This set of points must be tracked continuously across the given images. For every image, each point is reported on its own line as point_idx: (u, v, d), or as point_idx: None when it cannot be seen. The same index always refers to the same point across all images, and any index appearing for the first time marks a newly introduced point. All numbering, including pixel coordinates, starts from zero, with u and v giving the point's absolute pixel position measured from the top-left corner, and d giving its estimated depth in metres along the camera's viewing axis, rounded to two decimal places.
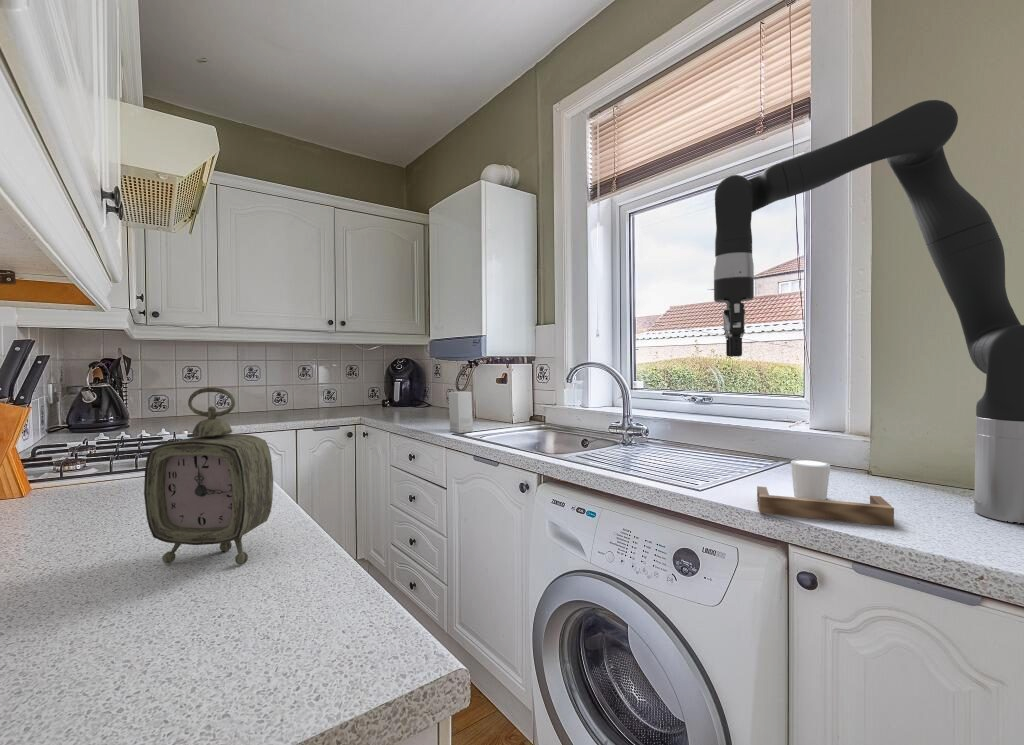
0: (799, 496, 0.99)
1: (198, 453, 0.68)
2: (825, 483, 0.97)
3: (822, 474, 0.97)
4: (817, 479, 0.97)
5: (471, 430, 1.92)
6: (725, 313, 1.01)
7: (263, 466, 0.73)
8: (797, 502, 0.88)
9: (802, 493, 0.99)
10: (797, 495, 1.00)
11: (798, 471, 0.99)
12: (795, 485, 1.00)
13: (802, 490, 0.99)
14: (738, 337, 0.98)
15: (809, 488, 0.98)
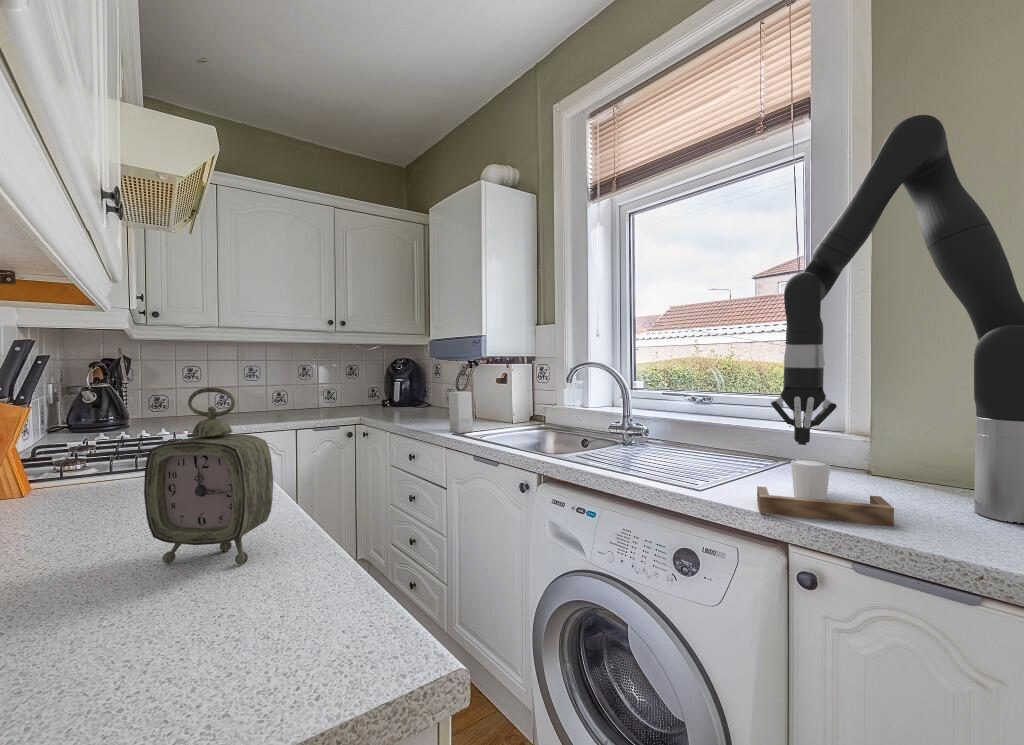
0: (799, 496, 0.99)
1: (198, 453, 0.68)
2: (825, 483, 0.97)
3: (822, 474, 0.97)
4: (817, 479, 0.97)
5: (471, 430, 1.92)
6: (813, 403, 1.07)
7: (263, 466, 0.73)
8: (797, 502, 0.88)
9: (802, 493, 0.99)
10: (797, 495, 1.00)
11: (798, 471, 0.99)
12: (795, 485, 1.00)
13: (802, 490, 0.99)
14: None
15: (809, 488, 0.98)
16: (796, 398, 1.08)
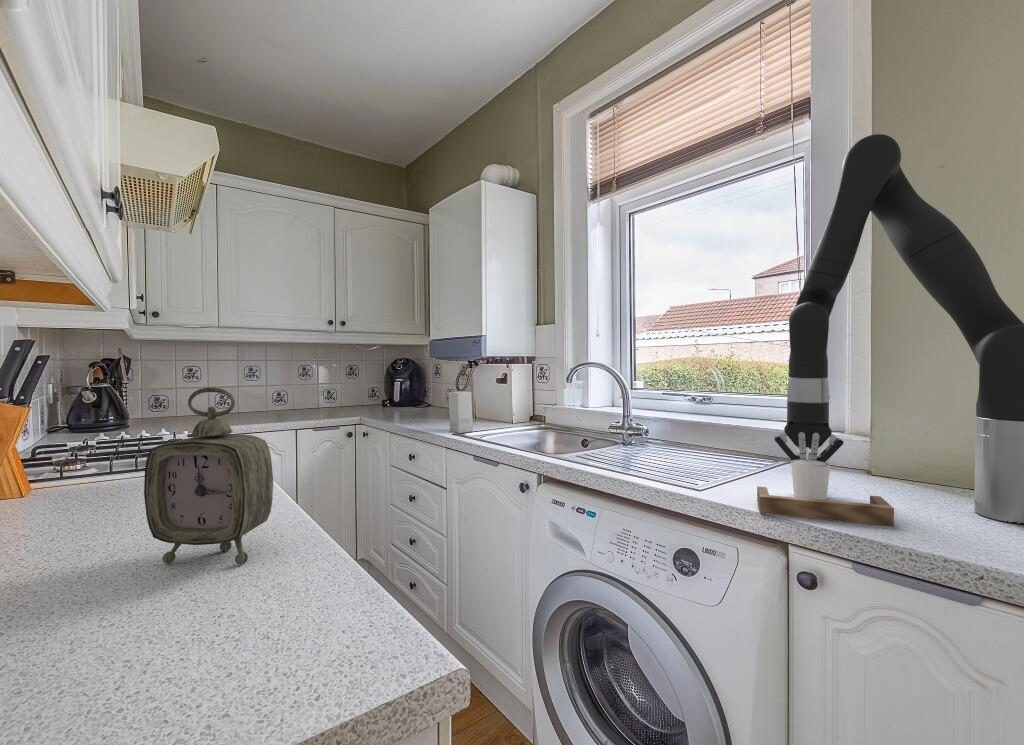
0: (799, 496, 0.99)
1: (198, 453, 0.68)
2: (825, 483, 0.97)
3: (822, 474, 0.97)
4: (817, 479, 0.97)
5: (471, 430, 1.92)
6: (818, 439, 1.02)
7: (263, 466, 0.73)
8: (797, 502, 0.88)
9: (802, 493, 0.99)
10: (797, 495, 1.00)
11: (798, 471, 0.99)
12: (795, 485, 1.00)
13: (802, 490, 0.99)
14: None
15: (809, 488, 0.98)
16: (800, 434, 1.03)
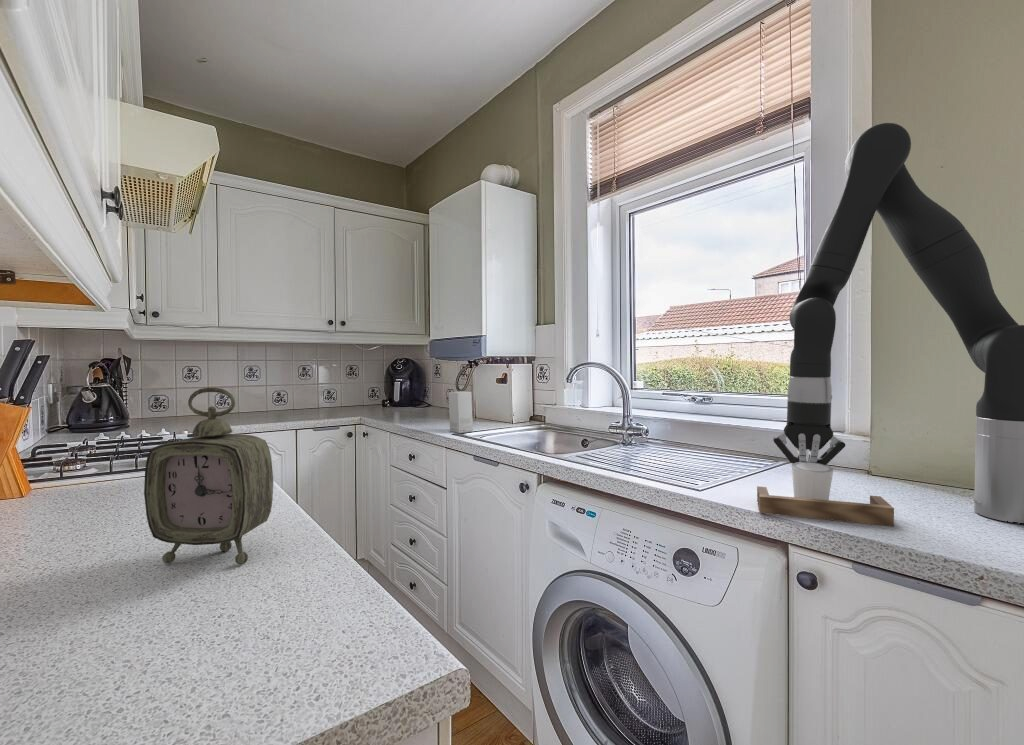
0: None
1: (198, 453, 0.68)
2: (828, 488, 0.94)
3: (826, 480, 0.93)
4: (821, 485, 0.93)
5: (471, 430, 1.92)
6: (819, 441, 0.97)
7: (263, 466, 0.73)
8: (797, 502, 0.88)
9: None
10: None
11: (801, 477, 0.94)
12: (797, 490, 0.96)
13: (805, 496, 0.94)
14: None
15: (812, 495, 0.94)
16: (801, 435, 0.98)
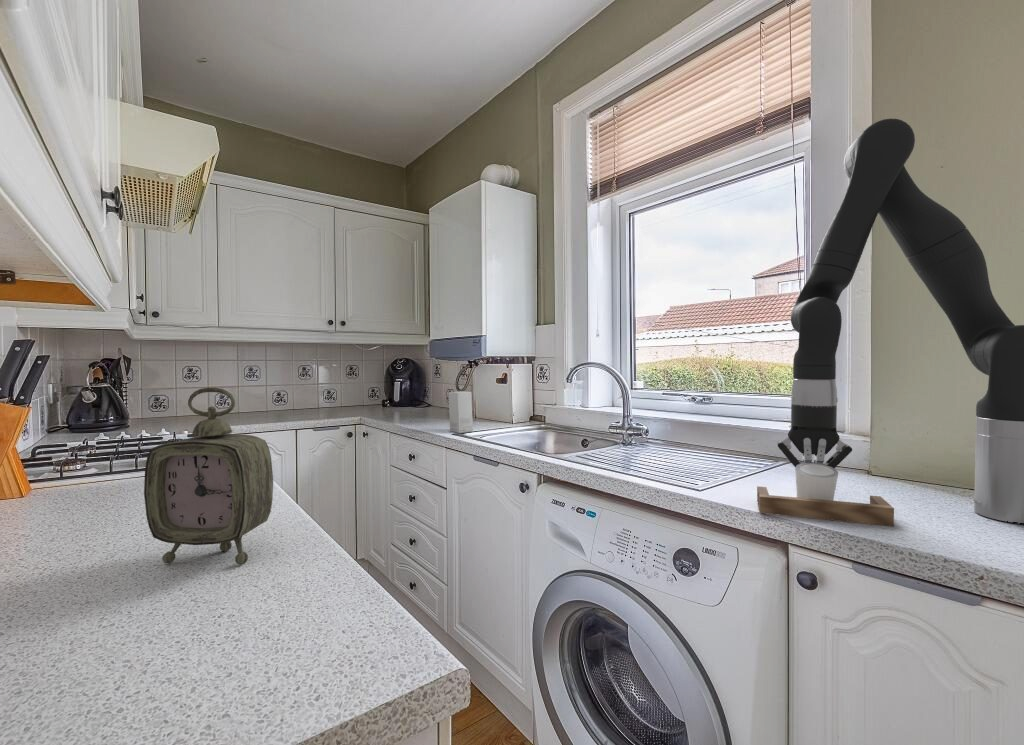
0: None
1: (198, 453, 0.68)
2: (832, 492, 0.91)
3: (830, 484, 0.90)
4: (825, 490, 0.90)
5: (471, 430, 1.92)
6: (825, 445, 0.94)
7: (263, 466, 0.73)
8: (797, 502, 0.88)
9: None
10: None
11: (804, 481, 0.91)
12: (800, 494, 0.93)
13: None
14: None
15: None
16: (806, 440, 0.95)
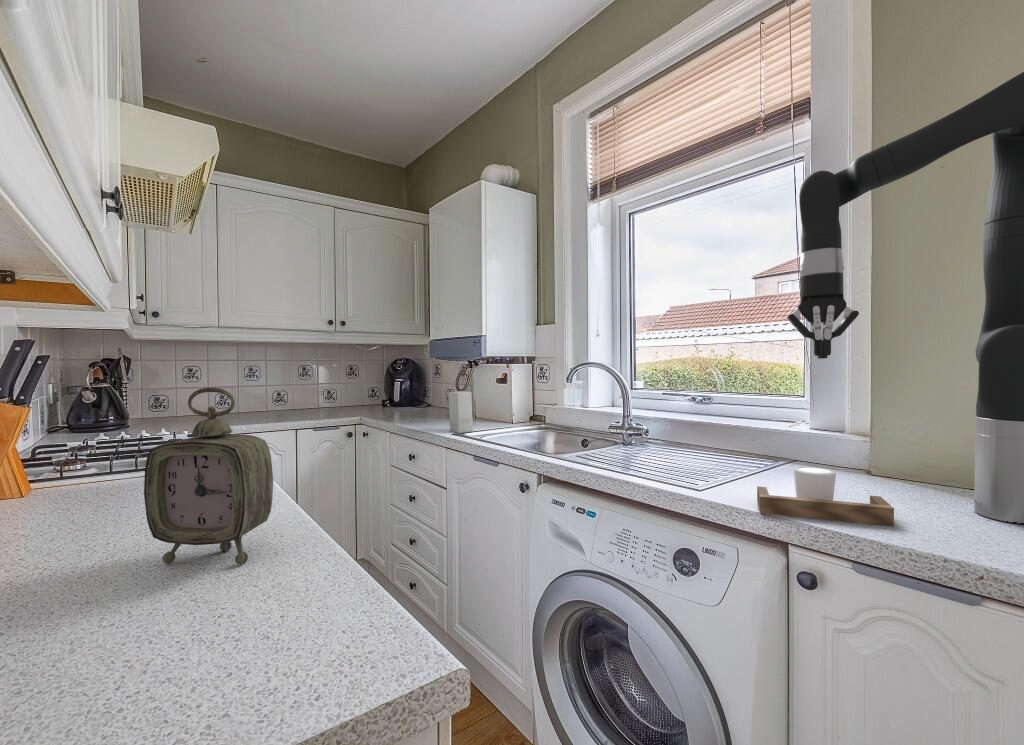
0: None
1: (198, 453, 0.68)
2: (831, 492, 0.91)
3: (828, 482, 0.91)
4: (824, 488, 0.91)
5: (471, 430, 1.92)
6: None
7: (263, 466, 0.73)
8: (797, 502, 0.88)
9: None
10: None
11: (803, 479, 0.92)
12: (799, 494, 0.94)
13: None
14: None
15: (815, 498, 0.91)
16: (815, 308, 1.01)
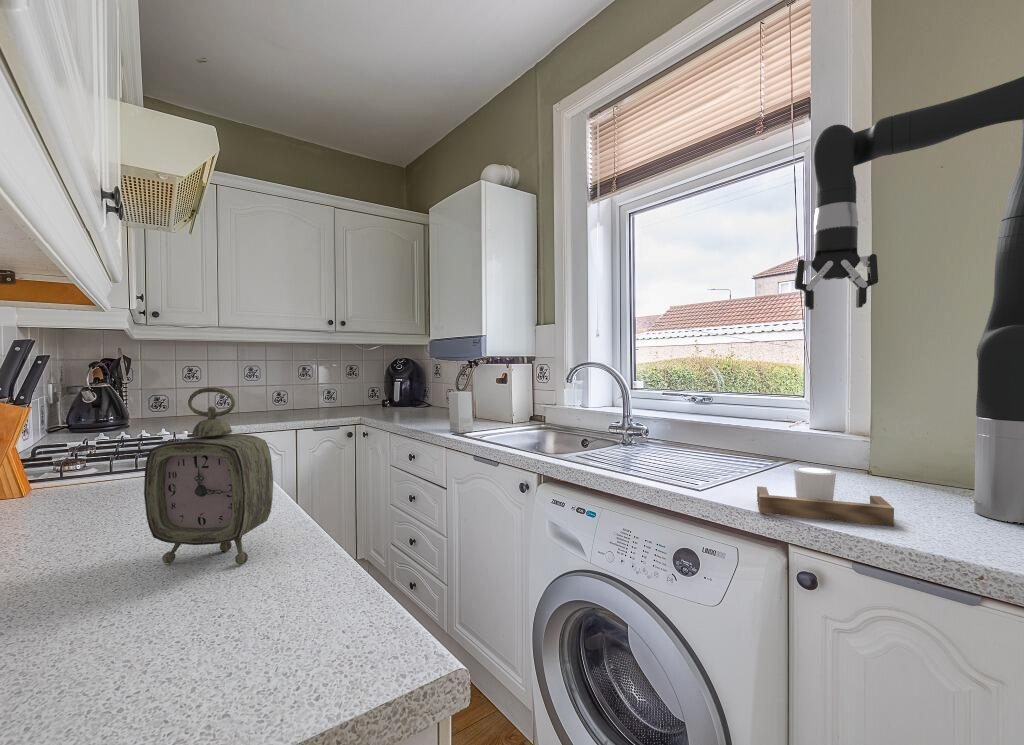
0: None
1: (198, 453, 0.68)
2: (831, 492, 0.91)
3: (828, 482, 0.91)
4: (824, 488, 0.91)
5: (471, 430, 1.92)
6: None
7: (263, 466, 0.73)
8: (797, 502, 0.88)
9: None
10: None
11: (803, 479, 0.92)
12: (799, 494, 0.94)
13: None
14: None
15: (815, 498, 0.91)
16: (829, 262, 1.01)
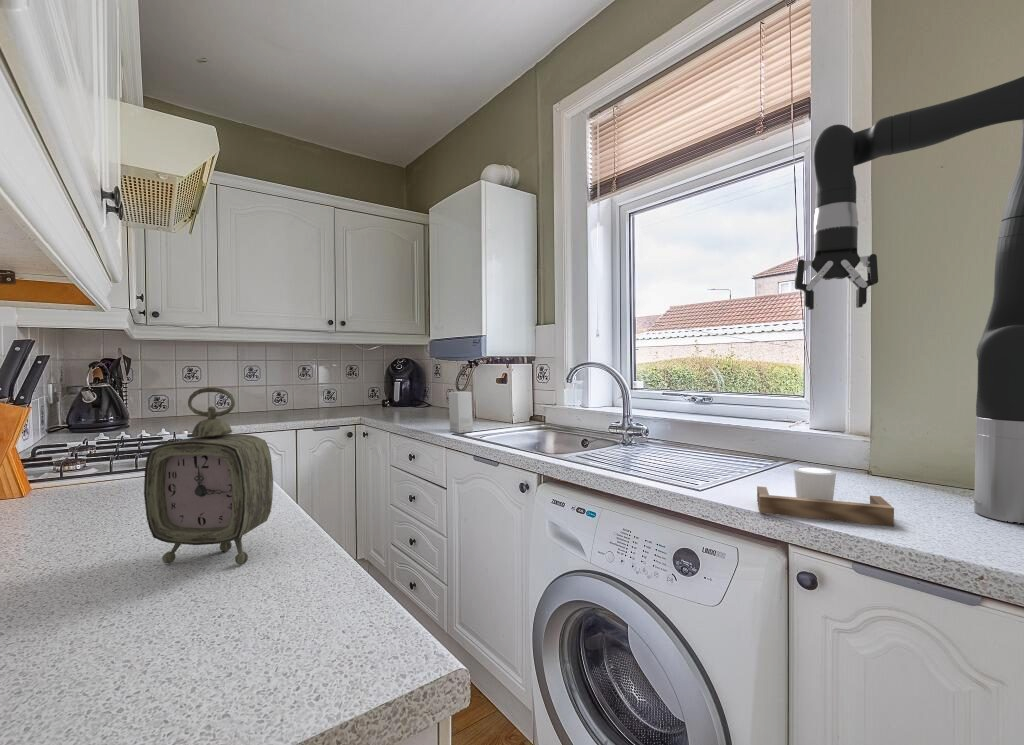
0: None
1: (198, 453, 0.68)
2: (831, 492, 0.91)
3: (828, 482, 0.91)
4: (824, 488, 0.91)
5: (471, 430, 1.92)
6: None
7: (263, 466, 0.73)
8: (797, 502, 0.88)
9: None
10: None
11: (803, 479, 0.92)
12: (799, 494, 0.94)
13: None
14: None
15: (815, 498, 0.91)
16: (829, 262, 1.01)
